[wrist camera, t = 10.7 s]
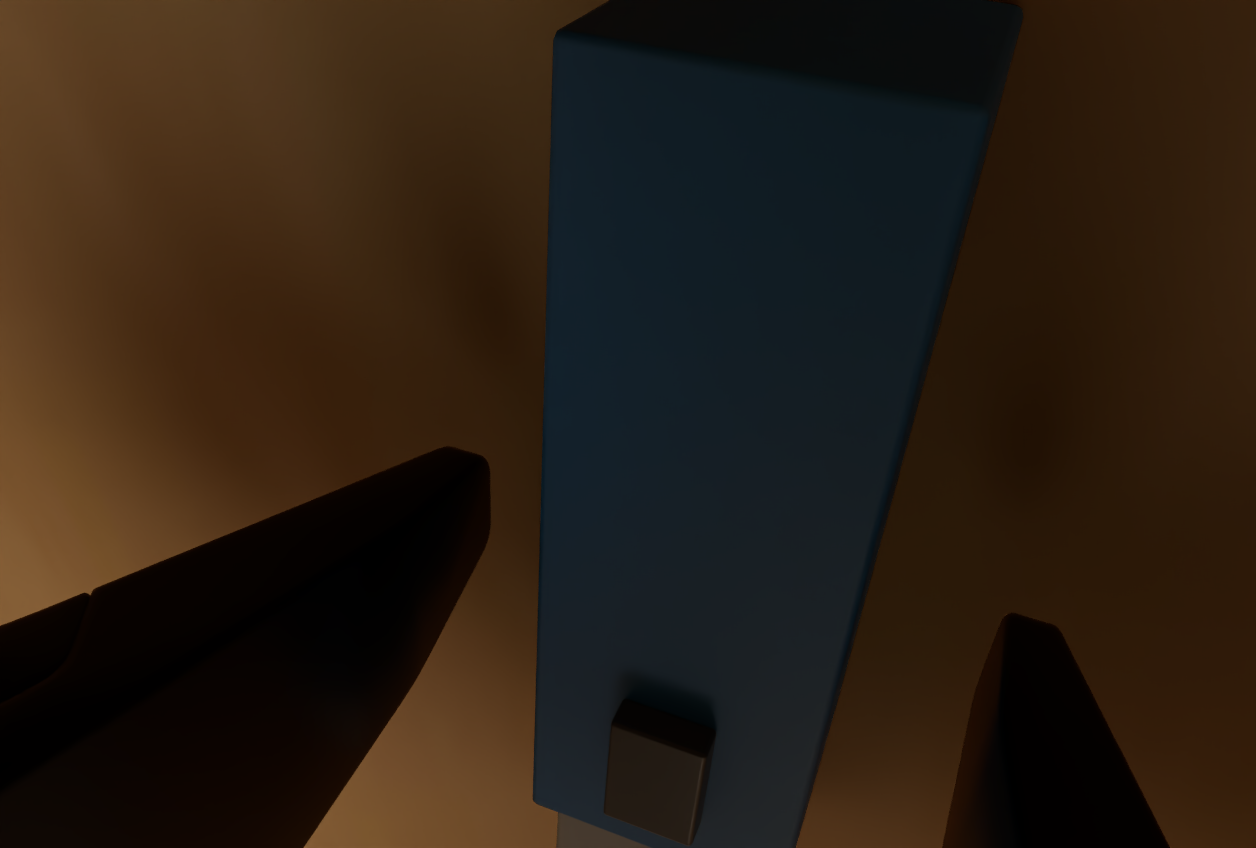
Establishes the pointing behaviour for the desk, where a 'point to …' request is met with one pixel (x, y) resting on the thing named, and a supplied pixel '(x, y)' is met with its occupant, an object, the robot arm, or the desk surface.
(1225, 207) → the desk surface
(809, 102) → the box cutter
